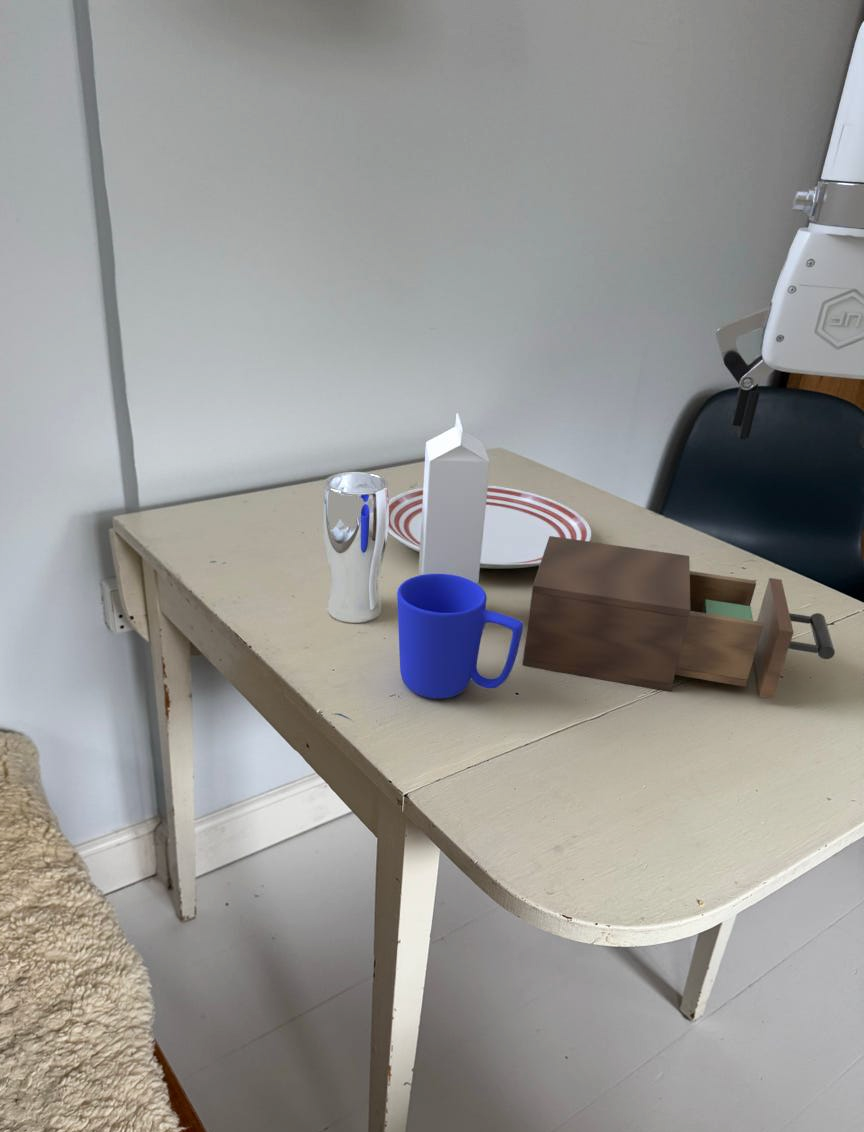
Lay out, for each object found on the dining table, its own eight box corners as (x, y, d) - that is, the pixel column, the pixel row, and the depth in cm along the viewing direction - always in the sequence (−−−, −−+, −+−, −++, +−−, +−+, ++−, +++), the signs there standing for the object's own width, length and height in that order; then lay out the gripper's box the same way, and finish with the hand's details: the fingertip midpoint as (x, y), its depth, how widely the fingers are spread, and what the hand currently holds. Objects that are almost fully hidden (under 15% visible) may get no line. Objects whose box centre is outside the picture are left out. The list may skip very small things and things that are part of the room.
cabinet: (672, 631, 95) (689, 555, 91) (670, 691, 85) (690, 610, 80) (539, 609, 99) (549, 535, 94) (522, 665, 88) (532, 585, 84)
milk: (419, 629, 94) (429, 429, 83) (416, 602, 99) (425, 410, 88) (475, 630, 94) (493, 430, 83) (469, 603, 99) (485, 412, 88)
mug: (494, 730, 78) (505, 635, 73) (377, 691, 83) (381, 599, 78) (527, 687, 85) (539, 596, 79) (416, 653, 89) (422, 565, 84)
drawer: (808, 648, 91) (829, 586, 87) (823, 707, 82) (847, 640, 78) (633, 620, 95) (645, 559, 92) (628, 673, 86) (641, 608, 82)
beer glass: (359, 631, 93) (362, 499, 85) (310, 611, 96) (308, 482, 89) (397, 608, 98) (403, 481, 90) (349, 589, 101) (351, 466, 94)
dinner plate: (487, 488, 131) (489, 467, 130) (632, 552, 113) (637, 529, 111) (338, 528, 116) (338, 505, 115) (477, 609, 98) (480, 583, 96)
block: (740, 643, 89) (751, 606, 87) (743, 665, 86) (754, 626, 83) (695, 636, 90) (705, 599, 88) (696, 657, 87) (706, 618, 84)
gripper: (746, 208, 62) (695, 442, 71) (1019, 223, 58) (929, 469, 67) (740, 202, 68) (694, 418, 77) (986, 215, 64) (908, 441, 73)
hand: (803, 441), depth 72 cm, fingers open, 9 cm apart
